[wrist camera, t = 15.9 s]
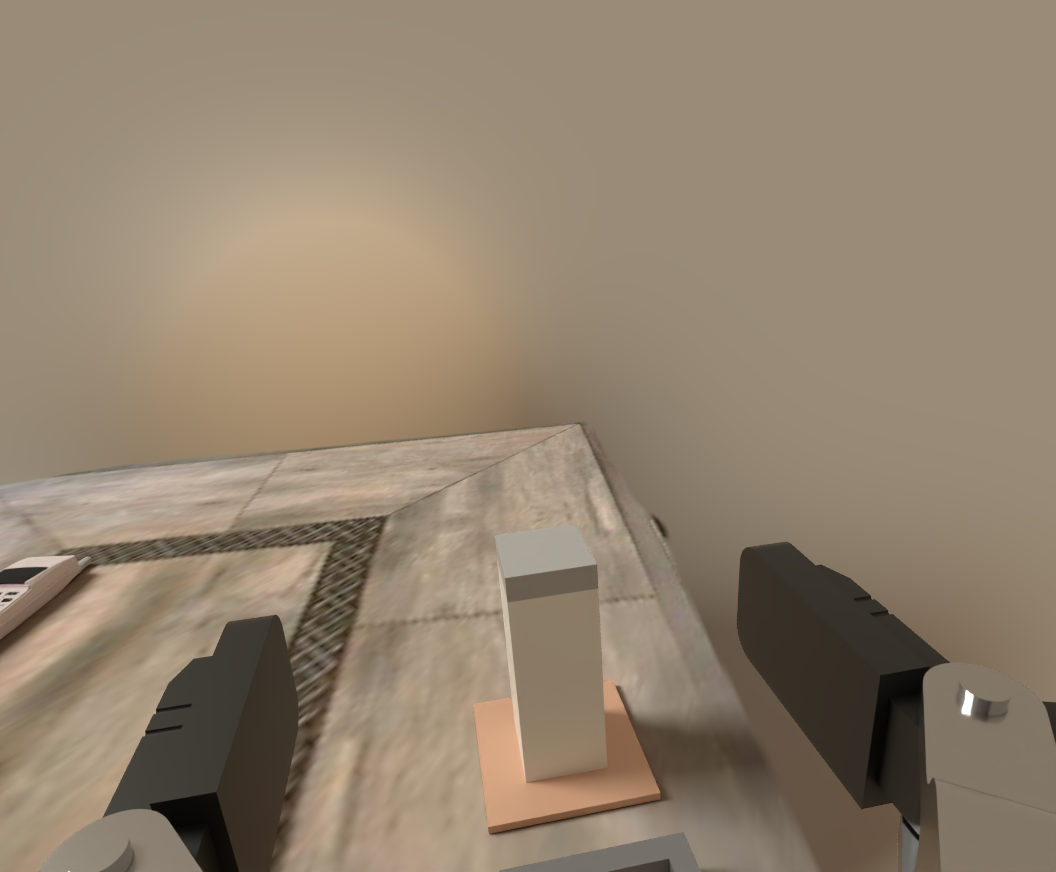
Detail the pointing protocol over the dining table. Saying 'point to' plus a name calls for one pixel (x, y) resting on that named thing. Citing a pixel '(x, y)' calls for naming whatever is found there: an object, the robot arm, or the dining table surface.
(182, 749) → the robot arm
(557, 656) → the block
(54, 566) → the mobile phone
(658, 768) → the dining table surface
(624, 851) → the charging dock
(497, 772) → the coaster
